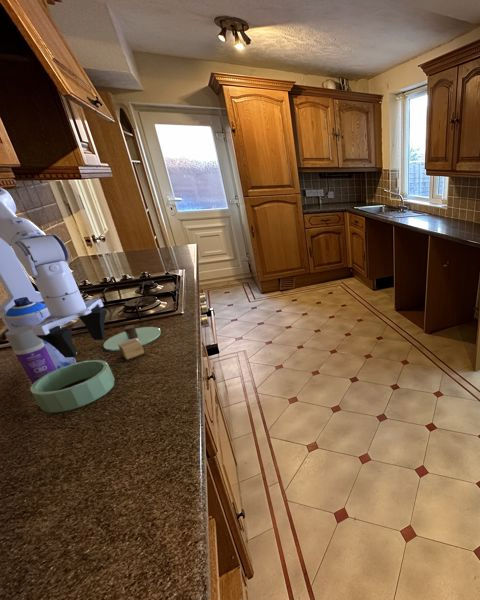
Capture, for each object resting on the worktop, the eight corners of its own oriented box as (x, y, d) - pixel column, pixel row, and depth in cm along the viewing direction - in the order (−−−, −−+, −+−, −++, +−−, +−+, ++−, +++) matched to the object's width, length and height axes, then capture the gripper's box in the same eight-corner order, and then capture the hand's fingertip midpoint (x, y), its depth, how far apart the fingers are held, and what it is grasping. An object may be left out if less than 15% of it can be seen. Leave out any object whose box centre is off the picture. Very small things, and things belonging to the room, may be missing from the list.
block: (122, 356, 88) (117, 344, 87) (140, 350, 91) (135, 337, 90) (127, 361, 86) (122, 348, 84) (145, 354, 89) (140, 342, 87)
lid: (98, 343, 95) (92, 329, 93) (152, 326, 105) (147, 313, 103) (113, 358, 88) (106, 343, 86) (169, 337, 98) (164, 324, 96)
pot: (35, 397, 73) (25, 379, 71) (106, 370, 82) (98, 354, 80) (47, 421, 66) (36, 402, 64) (122, 388, 75) (114, 371, 73)
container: (45, 392, 74) (14, 336, 69) (30, 390, 75) (-3, 334, 69) (68, 380, 79) (40, 326, 73) (53, 378, 80) (25, 324, 74)
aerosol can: (67, 359, 87) (33, 291, 80) (85, 364, 85) (51, 294, 77) (28, 376, 81) (-13, 303, 73) (46, 382, 78) (5, 307, 70)
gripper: (46, 306, 63) (75, 364, 68) (106, 281, 76) (126, 331, 81) (9, 307, 62) (41, 366, 68) (76, 282, 76) (98, 332, 81)
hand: (85, 347), depth 74 cm, fingers open, 7 cm apart
